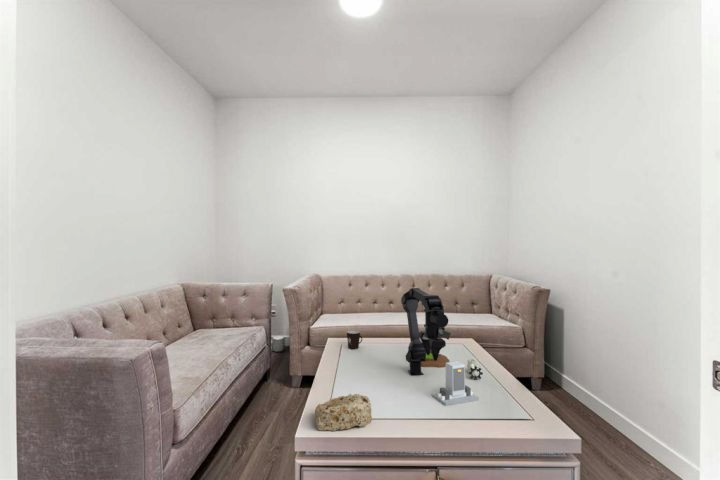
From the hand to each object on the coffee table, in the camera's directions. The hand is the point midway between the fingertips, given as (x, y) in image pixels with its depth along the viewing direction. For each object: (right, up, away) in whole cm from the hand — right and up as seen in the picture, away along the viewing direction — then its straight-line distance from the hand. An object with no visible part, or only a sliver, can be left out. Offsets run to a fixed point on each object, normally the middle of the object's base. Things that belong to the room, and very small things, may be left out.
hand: (431, 357), depth 165 cm
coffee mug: (-36, -15, +63) cm, 74 cm away
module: (+7, -10, -13) cm, 18 cm away
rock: (-39, -13, -34) cm, 53 cm away
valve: (+23, -14, +14) cm, 30 cm away
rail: (+7, -13, -13) cm, 20 cm away
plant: (+7, -15, +36) cm, 40 cm away
